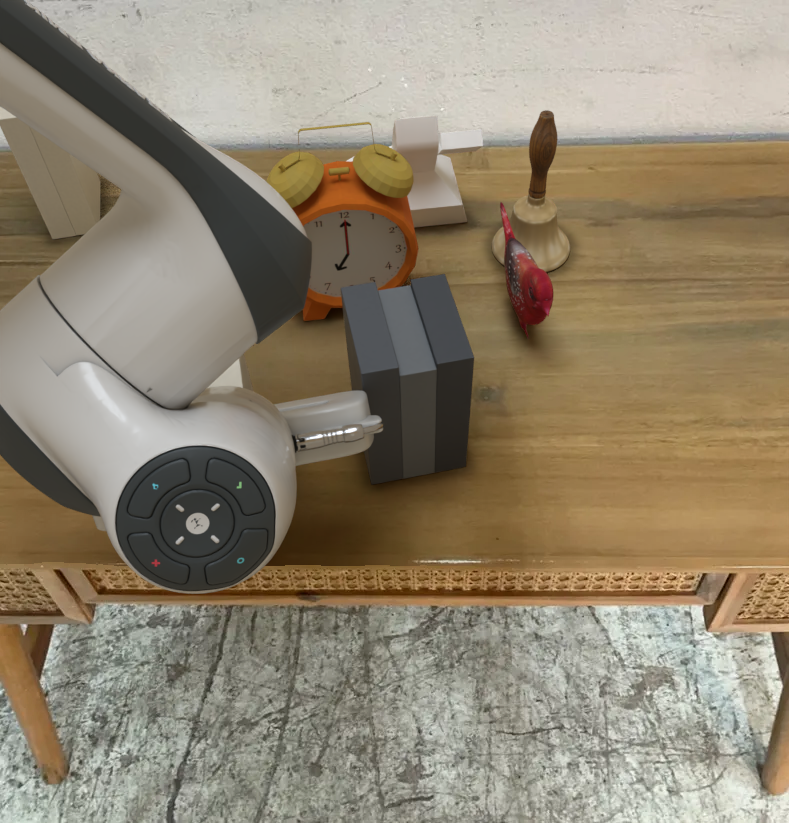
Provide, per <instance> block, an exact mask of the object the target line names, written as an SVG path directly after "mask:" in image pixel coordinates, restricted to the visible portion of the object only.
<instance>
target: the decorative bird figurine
mask: <svg viewBox="0 0 789 823" xmlns="http://www.w3.org/2000/svg"><path fill="white" fill-rule="evenodd" d="M499 210H500V216H501V223H502V227H503V228H504V234H505V253H504V264H505V266H504V272H505V273H504V274H505V283H506V289H507V295H508V297H509V300H510V303H511V306H512V308H513V310H514V312H515V314H516V316H517V318H518V323H519V325H520V328H521V329H522V330H523V331H524V334H525V335H526V339H527V340H529V332H528V330H527V328H528V327H527V326H528V325H529V326H536V325H540V324H541V323H543V322H544V321H545V319H546V318H547V317H549V316H550V311H551V310H552V306H553V301H554V287H553V283H552V279H551V278H550V276H549V274H548V272H545V271H544V270H543V269H540V268H539V267H538V266H537V264H536V262H535V261H534V259H533V257H532V256H531V254H530V253H529V252H528V251H527V249H526V248H525V247H524V246H523V245H522V244H521V243H520V242H519V241H518V240H516V238H515V236H514V234H513V231H512V228H511V225H510V222H509V221H510V218H509V216H508V213H507V210H506V208H505V205H504V203H503V202H502V201H500V204H499Z"/></svg>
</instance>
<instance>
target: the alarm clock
mask: <svg viewBox="0 0 789 823" xmlns="http://www.w3.org/2000/svg"><path fill="white" fill-rule="evenodd" d="M366 125H368V126H370V127H371V128H370V130H373V126H372V123H371V122H370V121H362V122H353V123H343V124H333V125H322V126H314V127H313V126H312V127H304V128H303V127H302V128H299V129H298V130H297V139H298V140H297V141H298V144H300V138H299V136H300V135H299V134H300V132H304V131H305V132H306V131H316V130H325V129H327V130H328V129H337V128H346V127H355V126H356V127H357V126H366ZM373 133H374V132H373V131H371V134H372V135H371V137H374V134H373ZM374 139H375V138H372V144H369V145H366V146H363V147H362V148H361V149H360V150H359V151H357V153H355V155H354V156H353V157H354V158H353V162H350V161H347V160H345V161H344V160H336V161H331V162H328V163H323V161H322V160H321V159H319V158H318V157H317V156H315V155H314V154H312V153H311V152H307V151H306V152H305V151H300V150H298V151H295V152H291V153H289V154H287V155H286V156H284V157H283V158H281V159H280V160H279V161H278V162H276V164H275V165H274V166H273V167H272V169H271V170H270V171H269V173H268V176H267V178H266V182H267V183H268V184H269V185H271V186H272V187H273V188H274V189H275V190H276V191H277V192H278V193H279V194H280V195H281V196H282V197H283V198H284V200H285V201H286V202H287V203H288V204H289V205H290V207H291V208H292V209H293V211H294V212H295V213H296V215H297V217H298V218H299V220H300V221H301V223H302V225H303V227H304V229H305V232H306V234H307V238H308V239H309V240H310V241H311V242H312V263H311V274H310V281H309V287H308V293H307V297H306V301H305V306H304V309H302V318H303V322H307V321H317V320H318V321H319V320H325V319H326V317H327V315H328V314H329V312H330V311H331V309H343V306H342V297H341V287H347V286H354V285H360V284H366V283H372V282H375V283H376V286H377V289H378V290H384V289H390V288H396V287H402V286H404V284H405V283H406V281H407V280H408V278H409V277H410V275H411V273H412V272H413V270H414V269H415V266H416V265H417V264H416V263H417V259H418V253H419V244H418V239H417V234H416V230H415V227H414V225H413V220H412V215H411V211H410V206H409V202H408V197H407V196H408V194H409V193H410V191H411V189H412V185H413V182H414V177H413V171H412V168H411V166H410V164H409V163H408V161H407V160H406V159H405V158H404V157H403V156H402V155H401V154H400V153H398V152H397V151H395V150H394V149H392V148H390V147H389V146H387V145H384V144H381V143H375V140H374Z"/></svg>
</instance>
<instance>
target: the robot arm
mask: <svg viewBox="0 0 789 823" xmlns="http://www.w3.org/2000/svg"><path fill="white" fill-rule="evenodd" d="M0 107H2V108H3V109H5V110H6V111H8V112H9V113H11V114H12V115H14V116H15V117H17V118H18V119H20V120H21V121H23V122H24V123H25V124H27V125H28V126H30V127H31V128H33V129H34V130H36V131H37V132H39V133H40V134H41V135H43V136H44V137H46V138H47V139H49V140H50V141H52V142H53V143H55V144H56V145H57V146H59V147H60V148H62V149H63V150H65V151H66V152H68V153H69V154H71V155H72V156H73V157H75V158H76V159H78V160H79V161H81V162H82V163H84V164H85V165H87V166H88V167H89V168H91V169H92V170H94V171H95V172H97V174H98V175H100V176H101V177H102V178H104V179H105V180H106V181H108V182H109V183H111V184H113V185H114V186H116V187H117V188H118V189H120V193H119V196H118V198H117V200H116V202H114V205H113V206H112V207H111V208H110V210H109V211H108V212H107V213H106V214H105V215H104V216H103V217H102V218H100V221H98V222H97V223H96V224H95V225H94V226H93V227H92V228H91V229H90V230H89V231H88V232H87V233H86V234H83V235H81V237H80V238H79V239H78V240H77V241H76V242H75V243H73V244H72V245H71V246H70V247H69V248H68V249H67V250H66V251H65V252H64V253H63V254H61V255H60V257H58V259H56V260H55V261H54V262H53V263H52V264H51V265H50V266H49V267H48V268H46V270H44V271H43V272H42V273H41V274H37V275H36V276H35V277H34V278H33V279H32V280H31V281H30V282H29V283H28V284H27V285H26V286H24V287H23V288H22V289H21V290H20V291H19V292H18V293H17V294H16V295H15V296H13V297H12V299H10V300H9V301H8V302H7V303H6V304H5V305H4V306H3V307H2V308H1V309H0V456H1V458H2V459H3V460H4V461H5V462H6V463H7V464H8V465H9V466H10V468H12V469H13V470H14V471H15V472H16V473H17V474H18V475H19V476H20V477H22V478H23V479H24V480H25V481H26V482H28V483H29V484H30V485H31V486H33V488H35V489H36V490H37V491H39V492H40V493H42V494H43V495H45V496H46V497H48V498H49V499H50V500H52V501H54V502H55V503H57V504H58V505H60V506H62V507H64V508H66V509H69V510H72V511H76V512H79V513H82V514H86V515H89V516H92V519H93V522H94V524H95V527H96V529H97V530H99V531H101V532H106V535H107V536H108V539H109V541H110V543H111V545H112V547H113V548H114V550H115V552H116V553H117V555H118V556H119V558H120V559H121V560H122V561H123V562H124V564H125V565H127V566H128V568H130V569H131V571H133V572H134V573H135V574H136V575H137V576H138V577H140V578H141V579H143V580H144V581H145V582H147V583H149V584H151V585H153V586H155V587H157V588H160V589H162V590H166V591H170V592H173V593H179V594H188V595H190V594H191V595H199V594H202V595H203V594H210V593H216V592H217V593H218V592H220V591H224V590H227V589H230V588H232V587H235V586H237V585H239V584H241V583H243V582H246V581H247V580H249V579H250V578H252V577H253V576H255V575H256V574H258V572H260V571H261V570H263V569H264V568H265V567H266V566H267V564H268V563H269V562H270V561H271V560H272V559H273V557H274V556H275V554H276V553H277V551H278V550H279V548H280V547H281V545H282V543H283V541H284V540H285V537H286V535H287V533H288V532H289V529H290V526H291V524H292V520H293V517H294V514H295V510H296V504H297V496H298V495H297V493H298V492H297V491H298V490H297V489H298V482H297V472H296V470H297V468H296V467H297V466H302V465H307V464H314V463H317V462H318V463H319V462H323V461H329V460H334V459H339V458H345V457H348V456H349V457H350V456H353V455H357V454H360V453H362V452H363V453H364V451H365V450H367V449H368V448H369V447H370V446H371V444H372V442H373V439H374V433H379V432H381V431H383V426H384V423H383V421H382V419H381V418H380V417H379V416H377V415H371V413H370V408H369V403H368V398H367V394H366V393H365V392H364V391H359V390H356V391H352V390H347V391H341V392H340V391H339V392H336V393H335V392H334V393H329V394H324V395H318V396H313V397H312V396H311V397H308V398H301V399H297V400H290V401H285V402H279V403H273V402H272V401H270V400H269V399H268V398H266V397H264V396H263V395H261V394H260V393H258V392H256V391H254V392H253V391H251V390H248V389H245V388H241V387H236V386H214V387H209V386H210V385H211V384H212V383H213V382H214V381H215V380H216V379H217V378H218V377H219V376H221V375H222V374H223V373H224V372H225V371H226V370H227V369H228V368H229V367H230V366H231V365H232V364H233V363H234V362H236V361H237V360H238V359H239V358H240V357H241V356H242V355H243V354H244V355H245V354H246V353H247V352H248V351H249V350H250V349H251V348H252V347H253V346H254V345H259V344H260V343H262V342H263V341H265V340H266V339H267V338H268V337H270V335H272V334H273V333H275V332H276V331H278V329H279V328H281V327H282V326H284V324H286V323H288V322H289V321H290V320H292V318H293V317H295V316H297V314H299V313H300V312H301V311H303V309H304V306H305V301H306V297H307V293H308V287H309V281H310V274H311V263H312V242H311V241H310V240H309V239H308V238H307V234H306V232H305V229H304V227H303V225H302V223H301V221H300V220H299V218H298V217H297V215H296V213H295V212H294V211H293V209H292V208H291V207H290V205H289V204H288V203H287V202H286V201H285V200H284V198H283V197H282V196H281V195H280V194H279V193H278V192H277V191H276V190H275V189H274V188H273V187H272V186H271V185H269V184H268V183H267V180H265V179H264V178H262V177H261V176H260V175H259V174H258V173H256V172H255V171H253V170H252V169H250V168H248V167H247V166H246V165H245V164H243V163H241V162H240V161H238V160H236V159H235V158H232V157H231V156H230V155H228V154H226V153H224V152H222V151H220V150H219V149H216V148H214V147H213V146H211V145H209V144H207V143H205V142H203V141H202V140H201V139H199V138H197V137H196V136H194V134H192V133H191V132H190V131H188V130H187V129H186V128H184V127H183V126H181V124H179V123H178V122H177V121H175V120H174V119H173V118H172V117H171V116H170V115H169V114H168V113H166V112H164V111H163V109H161V108H160V107H159V106H158V105H157V104H156V103H153V101H152V100H151V99H150V98H148V97H147V96H146V95H144V94H143V93H141V92H140V91H139V90H137V87H134V85H132V84H131V83H130V82H128V81H126V79H124V78H123V77H122V75H120V74H118V73H117V72H116V71H115V70H114V69H111V67H109V65H108V64H107V63H106V62H104V61H103V60H102V59H100V58H99V57H97V56H96V55H95V54H93V53H92V52H91V51H90V50H89V49H88V48H86V47H85V46H84V45H82V44H81V43H80V41H78V40H77V39H76V38H75V37H73V36H72V35H71V34H70V33H68V32H67V31H66V30H64V29H63V28H61V27H60V26H59V25H58V24H56V23H55V22H54V21H53V20H52V19H51V18H50V17H48V16H47V15H46V14H45V13H44V12H42V11H40V10H39V9H38V7H36V6H35V5H33V4H32V3H31V2H30V1H28V0H0ZM208 387H209V388H208Z"/></svg>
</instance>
